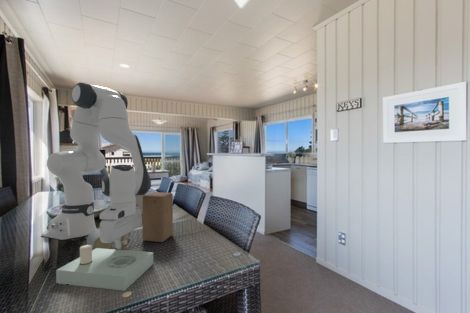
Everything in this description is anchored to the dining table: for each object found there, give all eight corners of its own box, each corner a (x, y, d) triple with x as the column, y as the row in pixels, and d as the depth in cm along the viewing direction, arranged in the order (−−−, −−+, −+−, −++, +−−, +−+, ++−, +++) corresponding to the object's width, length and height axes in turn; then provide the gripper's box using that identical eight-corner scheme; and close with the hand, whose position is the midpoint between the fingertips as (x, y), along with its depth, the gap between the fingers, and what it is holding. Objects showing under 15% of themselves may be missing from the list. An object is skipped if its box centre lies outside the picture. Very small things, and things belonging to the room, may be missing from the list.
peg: (116, 257, 86) (115, 233, 86) (121, 253, 90) (120, 230, 89) (124, 257, 86) (123, 233, 86) (130, 253, 89) (128, 230, 89)
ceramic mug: (93, 257, 87) (93, 236, 87) (86, 250, 92) (86, 231, 92) (122, 248, 95) (123, 229, 95) (114, 243, 100) (114, 225, 100)
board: (56, 283, 69) (56, 253, 69) (96, 259, 85) (96, 234, 85) (124, 290, 66) (124, 258, 66) (153, 263, 82) (153, 238, 81)
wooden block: (162, 243, 100) (162, 196, 100) (141, 241, 102) (141, 195, 102) (173, 235, 110) (173, 192, 109) (153, 233, 112) (153, 191, 111)
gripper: (132, 202, 98) (132, 235, 98) (95, 215, 78) (95, 257, 78) (146, 203, 97) (146, 236, 97) (112, 216, 77) (113, 258, 77)
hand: (123, 245), depth 88 cm, fingers closed on peg, 3 cm apart
